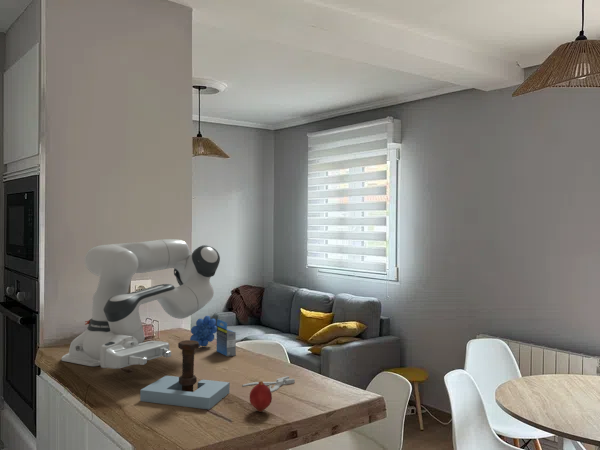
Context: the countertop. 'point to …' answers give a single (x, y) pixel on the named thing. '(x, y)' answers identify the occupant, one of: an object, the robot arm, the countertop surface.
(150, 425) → the countertop surface
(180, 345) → the bolt
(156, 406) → the countertop surface
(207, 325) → the grapes
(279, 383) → the pliers
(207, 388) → the pocket frame
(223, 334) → the label tape box
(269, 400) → the onion
